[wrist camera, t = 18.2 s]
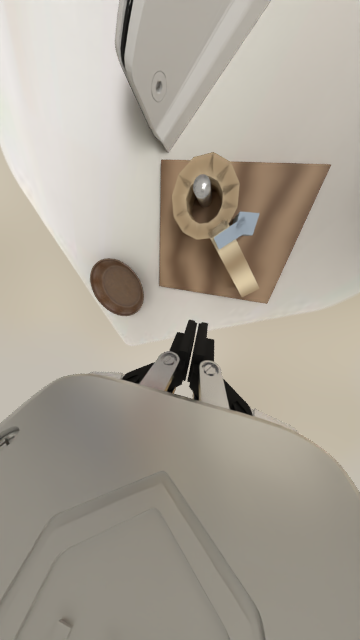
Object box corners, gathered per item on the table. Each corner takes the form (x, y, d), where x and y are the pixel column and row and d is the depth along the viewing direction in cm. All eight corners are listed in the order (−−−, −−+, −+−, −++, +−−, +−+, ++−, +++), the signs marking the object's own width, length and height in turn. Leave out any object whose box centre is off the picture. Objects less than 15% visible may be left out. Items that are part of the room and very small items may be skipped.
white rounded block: (166, 155, 23) (116, 73, 14) (151, 132, 23) (93, 37, 14) (274, -6, 15) (315, -422, 6) (251, -39, 15) (257, -490, 6)
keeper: (247, 220, 25) (259, 213, 18) (239, 249, 27) (247, 252, 20) (218, 217, 25) (218, 209, 18) (212, 246, 28) (211, 248, 21)
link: (171, 203, 25) (160, 194, 20) (217, 156, 21) (217, 130, 16) (224, 294, 31) (225, 305, 26) (267, 271, 27) (279, 278, 22)
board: (326, 167, 20) (331, 164, 19) (265, 301, 31) (267, 303, 30) (163, 162, 23) (161, 159, 23) (160, 284, 34) (159, 285, 33)
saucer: (88, 261, 36) (79, 263, 34) (138, 252, 32) (132, 254, 30) (110, 312, 43) (104, 316, 41) (153, 310, 39) (149, 315, 37)
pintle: (213, 192, 24) (211, 174, 17) (210, 208, 25) (208, 197, 18) (200, 191, 24) (194, 173, 17) (198, 207, 25) (192, 196, 19)
